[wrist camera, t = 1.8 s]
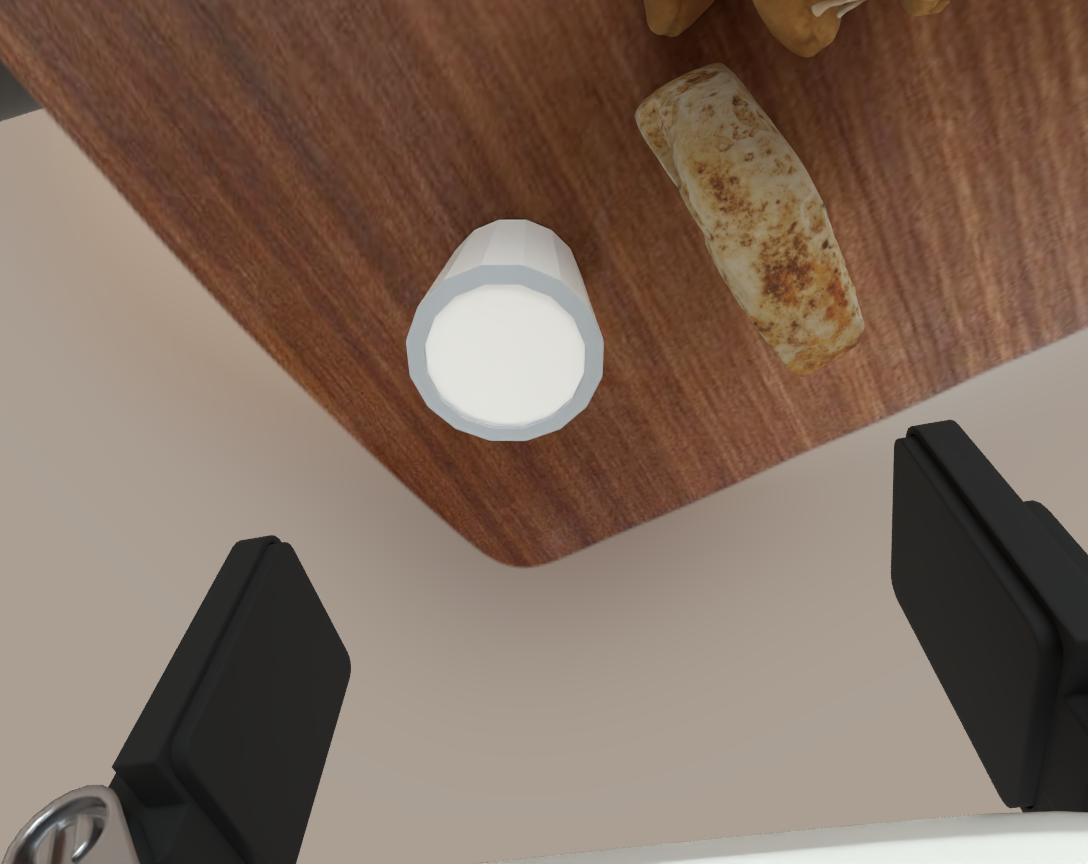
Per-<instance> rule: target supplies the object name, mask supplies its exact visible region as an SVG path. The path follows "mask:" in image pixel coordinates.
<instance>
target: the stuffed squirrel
mask: <svg viewBox="0 0 1088 864" xmlns="http://www.w3.org/2000/svg"><path fill="white" fill-rule="evenodd" d="M643 1H644V6H645V12H646V18H647V24H648V26H649V29H650V30H651V31H653V32H654V33H656V34H657V35H666V36H669V37H675V36H678V35H679V34H681V33H682V32H683V31H684V30H686V29H687V28H689V27H690V26H691V25H692V24H693V23H694V21H695V20H696V19H697V18H699V17H700V16H701V15H702V14H703V12H704V11H705V10H706V9H707V8H709V7H710V5H711V4H712V3H713V2H714V1H715V0H643ZM752 1H753V3H754V6H755V8H756V10H757V12H758V13H759V15H760V17H761V19H762V20H763V22H764V23H765V25H766V26H767V28H768V29H769V31H770V32H771V34H772V35H773V36H774V37H775V38H776V39H777V40H778V41H779V42H780V43H781V44H782V45H783V46H784V47H785V48H787V49H788V50H789V51H791V52H792V53H794V54H796V55H798V56H801V57H812V56H814V55H816V54H817V53H818V52H819V51H820V50H821V49H822V48H824V47H826V46H828V45H829V44H830V43H831V42H832V41H833V40H834V38H835V36H836V34H837V32H838V30H839V27H840V23H841V17H842V16H843V15H844V14H845V13H846V12H847V11H849V10H851V9H853V8H855V7H856V6H858V5H859V4H860V3H862V2H864V1H866V0H752ZM950 1H951V0H899V2H900V4H901V6H902V8H903V9H904V10H905V11H906V12H907V13H908V14H909V15H911V16H915V17H918V16H925V15H929V14H936V13H938V12H941V11H942V10H943V9H944V7H945V6H946V5H947V4H948V3H949V2H950ZM847 2H849V3H847ZM844 3H847V4H846V5H843V4H844Z"/></svg>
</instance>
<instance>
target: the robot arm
mask: <svg viewBox="0 0 1088 864" xmlns="http://www.w3.org/2000/svg"><path fill="white" fill-rule="evenodd" d="M891 554H892V555H891V579H892V585H893V589H894V592H895V595H896V598H897V600H898V602H899V604H900V606H901V608H902V610H903V611H904V613H905V615H906V617H907V619H908V621H909V623H910V625H911V627H912V629H913V631H914V633H915V634H916V636H917V638H918V640H919V642H920V644H921V646H922V648H923V650H924V652H925V654H926V656H927V658H928V660H929V661H930V663H931V665H932V667H933V669H934V671H935V673H936V675H937V677H938V679H939V681H940V683H941V684H942V686H943V688H944V690H945V692H946V694H947V696H948V698H949V700H950V702H951V704H952V706H953V707H954V710H955V711H956V713H957V715H958V717H959V719H960V721H961V723H962V725H963V727H964V729H965V731H966V733H967V735H968V736H969V738H970V740H971V742H972V744H973V746H974V748H975V750H976V752H977V753H978V756H979V758H980V760H981V761H982V763H983V765H984V767H985V769H986V771H987V773H988V775H989V777H990V779H991V780H992V783H993V784H994V786H995V788H996V790H997V792H998V794H999V796H1000V797H1001V799H1002V801H1003V802H1004V803H1005V805H1006V806H1007V807H1009V808H1017V807H1020V808H1021V809H1022V812H1023V813H998V814H997V813H996V814H979V815H967V816H956V817H944V818H931V819H919V820H907V821H895V822H882V823H870V824H858V825H848V826H838V827H827V828H818V829H808V830H797V831H787V832H777V833H767V834H757V835H747V836H736V837H726V838H716V839H706V840H696V841H687V842H676V843H666V844H656V845H647V846H637V847H628V848H618V849H608V850H600V851H589V852H579V853H569V854H560V855H551V856H541V857H532V858H523V859H512V860H503V861H493V862H484V863H474V864H1088V555H1087V553H1086V552H1085V551H1084V550H1083V549H1082V548H1081V547H1080V545H1079V544H1078V543H1077V542H1076V541H1075V540H1074V539H1073V538H1072V536H1071V535H1070V534H1069V533H1068V532H1067V531H1066V529H1065V528H1064V527H1063V526H1062V525H1061V524H1060V523H1059V521H1058V520H1057V519H1056V518H1055V517H1054V516H1053V515H1052V513H1051V512H1050V511H1049V510H1048V509H1047V508H1045V507H1044V506H1043V505H1042V504H1041V503H1039V502H1036V501H1026V502H1023V501H1022V500H1021V498H1020V497H1019V496H1018V495H1017V494H1016V493H1015V492H1014V490H1013V489H1012V488H1011V487H1010V486H1009V484H1008V483H1007V482H1006V481H1005V480H1004V478H1003V477H1002V476H1001V475H1000V474H999V473H998V471H997V470H996V469H995V468H994V466H993V465H992V464H991V463H990V462H989V460H988V459H987V458H986V457H985V456H984V455H983V453H982V452H981V451H980V450H979V449H978V447H977V446H976V445H975V444H974V443H973V442H972V440H971V439H970V438H969V437H968V435H967V434H966V433H965V432H964V431H963V430H962V428H961V427H960V426H959V425H958V424H957V423H956V422H955V421H953V420H946V421H940V422H934V423H928V424H922V425H917V426H911V427H910V428H908V431H907V434H906V438H900V439H897V440H896V441H895V445H894V473H893V514H892V553H891ZM350 673H351V664H350V658H349V655H348V652H347V650H346V648H345V647H344V645H343V643H342V641H341V639H340V637H339V635H338V633H337V631H336V629H335V628H334V626H333V624H332V622H331V620H330V618H329V616H328V614H327V612H326V610H325V608H324V607H323V605H322V603H321V601H320V599H319V597H318V595H317V593H316V591H315V589H314V587H313V586H312V584H311V582H310V580H309V578H308V576H307V574H306V572H305V570H304V569H303V566H302V565H301V563H300V561H299V559H298V557H297V555H296V553H295V551H294V549H293V548H292V546H291V545H290V544H289V543H286V542H283V543H282V542H281V541H280V539H279V538H277V537H276V536H265V537H259V538H253V539H247V540H241V541H239V542H237V543H236V544H235V545H234V546H233V547H232V549H231V551H230V553H229V555H228V557H227V558H226V560H225V562H224V564H223V566H222V567H221V569H220V571H219V573H218V575H217V577H216V579H215V580H214V582H213V584H212V586H211V588H210V589H209V591H208V593H207V595H206V597H205V599H204V600H203V602H202V604H201V606H200V608H199V609H198V611H197V613H196V615H195V617H194V619H193V620H192V622H191V624H190V626H189V628H188V630H187V631H186V633H185V635H184V637H183V639H182V640H181V642H180V644H179V646H178V648H177V649H176V651H175V653H174V655H173V657H172V659H171V660H170V662H169V664H168V666H167V668H166V670H165V671H164V673H163V675H162V677H161V679H160V681H159V682H158V684H157V686H156V688H155V689H154V691H153V693H152V695H151V697H150V699H149V701H148V702H147V704H146V706H145V708H144V709H143V711H142V713H141V715H140V717H139V719H138V721H137V722H136V724H135V726H134V728H133V730H132V731H131V733H130V735H129V737H128V739H127V740H126V742H125V744H124V746H123V748H122V750H121V751H120V753H119V755H118V757H117V759H116V760H115V762H114V764H113V766H112V768H113V769H114V770H115V772H116V774H115V776H114V778H113V780H112V782H111V783H110V785H109V787H106V786H103V785H91V786H90V785H89V786H88V785H87V786H84V787H81V788H78V789H75V790H72V791H70V792H68V793H66V794H64V795H62V796H61V797H59V798H57V799H55V800H53V801H52V802H51V803H49V804H48V805H47V806H46V807H44V808H43V809H42V810H40V811H39V812H38V813H37V814H35V815H34V816H33V817H32V818H31V820H30V821H29V822H28V823H27V824H26V825H25V826H24V827H23V828H22V829H21V830H20V831H19V833H18V834H17V836H16V837H15V839H14V840H13V841H12V843H11V844H10V846H9V847H8V849H7V851H6V854H5V856H4V858H3V861H2V863H1V864H296V862H297V858H298V855H299V851H300V848H301V844H302V841H303V837H304V834H305V830H306V827H307V823H308V820H309V817H310V813H311V810H312V806H313V803H314V799H315V796H316V792H317V789H318V785H319V782H320V779H321V775H322V772H323V768H324V765H325V761H326V758H327V754H328V751H329V747H330V744H331V741H332V737H333V734H334V730H335V727H336V723H337V720H338V716H339V713H340V710H341V706H342V703H343V699H344V696H345V692H346V688H347V685H348V682H349V678H350Z"/></svg>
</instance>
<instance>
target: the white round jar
mask: <svg viewBox="0 0 1088 864" xmlns="http://www.w3.org/2000/svg"><path fill="white" fill-rule="evenodd" d="M406 346H407V355H408V364H409V372H410V377H411V379H412V380H413V382H414V384H415V386H416V387H417V389H418V391H419V392H420V394H421V396H422V398H423V399H424V401H425V403H426V405H427V406H428V407H429V408H430V409H431V410H433V411H434V412H435V413H436V414H438V415H439V416H440V417H441V418H443V419H444V420H445V421H447V422H448V423H449V424H450V425H452V426H453V427H454V428H455V429H458V430H461V431H463V432H466V433H469V434H472V435H475V436H478V437H481V438H484V439H487V440H490V441H527V440H530V439H533V438H536V437H539V436H542V435H545V434H547V433H550V432H553V431H556V430H559V429H561V428H562V427H563V426H564V425H566V424H567V423H568V422H569V421H570V420H572V419H573V418H574V417H575V416H576V415H578V414H579V413H580V412H581V411H582V410H584V409H585V408H586V407H587V405H588V403H589V401H590V400H591V398H592V396H593V394H594V392H595V390H596V388H597V386H598V384H599V382H600V380H601V378H602V374H603V350H604V340H603V337H602V335H601V332H600V329H599V326H598V323H597V320H596V317H595V314H594V311H593V308H592V305H591V302H590V299H589V297H588V294H587V291H586V288H585V285H584V282H583V279H582V276H581V273H580V271H579V268H578V266H577V263H576V261H575V258H574V256H573V253H572V251H571V249H570V248H569V247H568V246H567V245H566V244H565V243H564V242H563V241H562V240H561V239H560V238H559V237H558V236H557V235H556V234H555V233H554V232H553V231H552V230H551V229H548V228H546V227H543V226H541V225H538V224H536V223H533V222H531V221H529V220H497V221H494V222H492V223H490V224H487V225H485V226H482V227H480V228H478V229H475V230H474V231H473V232H472V233H471V234H470V235H469V236H468V237H467V238H466V239H465V240H464V241H463V242H462V243H461V244H460V245H459V246H458V247H457V249H456V250H455V252H454V253H453V255H452V256H451V258H450V259H449V261H448V262H447V264H446V265H445V267H444V268H443V270H442V271H441V273H440V274H439V276H438V277H437V279H436V280H435V282H434V283H433V285H432V286H431V288H430V289H429V291H428V292H427V294H426V295H425V297H424V298H423V300H422V301H421V303H420V304H419V306H418V308H417V311H416V313H415V316H414V319H413V322H412V325H411V328H410V331H409V334H408V337H407V340H406Z"/></svg>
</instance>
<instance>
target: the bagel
mask: <svg viewBox="0 0 1088 864" xmlns="http://www.w3.org/2000/svg"><path fill="white" fill-rule="evenodd" d="M635 119H636V122H637V125H638V128H639V130H640V132H641V133H642V135H643V137H644V139H645V141H646V142H647V144H648V145H649V146H650V148H651V149H652V151H653V152H654V154H655V155H656V157H657V158H658V160H659V161H660V163H661V165H662V166H663V168H664V169H665V171H666V172H667V174H668V175H669V176H670V178H671V179H672V181H673V182H674V184H675V185H676V187H677V188H678V190H679V191H680V194H681V196H682V198H683V200H684V202H685V204H686V206H687V208H688V210H689V211H690V213H691V215H692V216H693V218H694V220H695V221H696V223H697V224H698V226H699V227H700V229H701V230H702V231H703V233H704V238H705V245H706V247H707V249H708V251H709V254H710V256H711V258H712V259H713V261H714V263H715V265H716V267H717V269H718V271H719V272H720V274H721V276H722V278H723V279H724V281H725V282H726V284H727V286H728V287H729V289H730V290H731V292H732V293H733V295H734V297H735V298H736V300H737V301H738V303H739V304H740V305H741V307H742V308H743V310H744V311H745V313H746V314H747V315H748V317H749V318H750V320H751V321H752V323H753V324H754V326H755V327H756V328H757V330H758V331H759V333H760V334H761V335H762V336H763V338H764V339H765V340H766V342H767V343H768V344H769V346H770V347H771V348H772V349H773V350H774V352H775V353H776V354H777V355H778V356H779V358H780V359H781V360H782V362H783V363H784V364H785V365H786V367H787V368H788V369H789V370H790V371H791V372H792V373H793V374H795V375H796V376H801V377H803V376H806V375H808V374H810V373H812V372H813V371H816V370H818V369H820V368H822V367H824V366H825V365H827V364H829V363H831V362H832V361H834V360H836V359H837V358H839V357H840V356H842V355H843V354H845V353H846V352H848V351H849V350H851V349H852V348H853V347H855V346H856V344H857V343H859V340H860V338H861V336H862V335H863V332H864V326H865V324H864V321H863V318H862V314H861V310H860V308H859V305H858V302H857V298H856V288H855V287H854V286H853V285H852V282H851V280H850V277H849V274H848V271H847V269H846V267H845V260H844V258H843V256H842V254H841V251H840V248H839V245H838V243H837V241H836V239H835V237H834V234H833V229H832V226H831V224H830V221H829V218H828V215H827V212H826V208H825V205H824V203H823V201H822V200H821V198H820V196H819V194H818V192H817V190H816V188H815V186H814V184H813V182H812V180H811V178H810V176H809V174H808V172H807V170H806V169H805V167H804V165H803V164H802V162H801V161H800V159H799V158H798V156H797V155H796V153H795V152H794V150H793V149H792V148H791V146H790V145H789V144H788V142H787V141H786V140H785V138H784V137H783V136H782V135H781V133H780V132H779V131H778V130H777V128H776V127H775V125H774V124H773V123H772V121H771V120H770V119H769V117H768V116H767V115H766V113H765V112H764V111H763V110H762V108H761V107H760V106H759V105H758V103H757V102H756V101H755V99H754V98H753V97H752V95H751V94H750V92H749V91H748V90H747V88H746V87H745V86H744V84H743V83H742V82H741V81H740V80H739V79H738V77H737V76H736V75H735V74H734V73H733V72H732V71H731V70H730V69H729V68H727V67H726V66H725V65H724V64H722V63H713V64H708V65H705V66H702V67H700V68H697V69H695V70H692V71H690V72H688V73H685V74H683V75H682V76H680V77H678V78H676V79H674V80H672V81H670V82H668V83H667V84H665V85H663V86H662V87H660V88H659V89H657V90H656V91H655V92H653V93H652V94H651V95H649V96H648V97H647V98H646V99H645V100H644V101H643V102H642V103H641V104H640V106H639V107H638V108H637V109H636V112H635Z"/></svg>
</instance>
